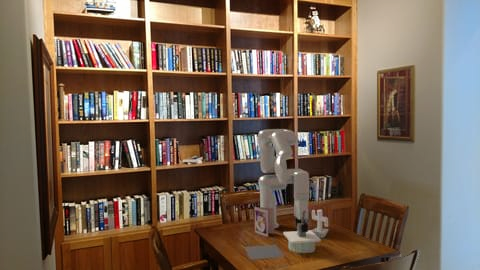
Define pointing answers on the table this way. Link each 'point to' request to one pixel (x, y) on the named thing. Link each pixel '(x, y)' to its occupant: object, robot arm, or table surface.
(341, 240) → the table surface
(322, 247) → the table surface
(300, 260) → the table surface
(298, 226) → the lid
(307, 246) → the bowl
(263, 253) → the mat
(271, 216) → the greeting card
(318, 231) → the figurine
